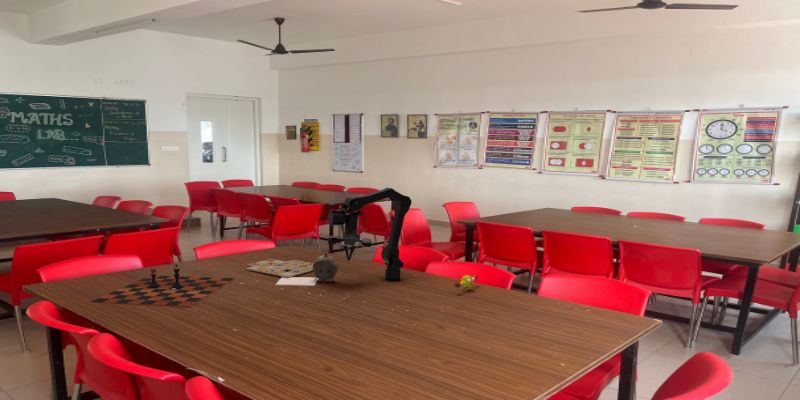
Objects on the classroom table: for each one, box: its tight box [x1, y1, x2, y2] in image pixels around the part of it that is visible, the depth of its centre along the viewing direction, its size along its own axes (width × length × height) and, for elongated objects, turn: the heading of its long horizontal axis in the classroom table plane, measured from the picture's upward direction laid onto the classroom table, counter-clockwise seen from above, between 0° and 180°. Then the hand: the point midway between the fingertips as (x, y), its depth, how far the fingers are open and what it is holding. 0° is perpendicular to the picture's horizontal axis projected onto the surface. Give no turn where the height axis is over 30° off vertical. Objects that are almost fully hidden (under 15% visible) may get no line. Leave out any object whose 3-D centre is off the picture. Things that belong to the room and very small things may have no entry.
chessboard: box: [90, 263, 235, 308], centre depth 212 cm, size 40×40×11 cm
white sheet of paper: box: [275, 276, 319, 287], centre depth 229 cm, size 17×12×1 cm
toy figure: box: [454, 274, 479, 292], centre depth 220 cm, size 18×6×7 cm, turn 143°
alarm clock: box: [312, 246, 339, 284], centre depth 227 cm, size 11×5×16 cm, turn 84°
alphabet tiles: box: [245, 258, 314, 278], centre depth 253 cm, size 33×28×1 cm
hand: (348, 260), depth 224 cm, fingers closed
